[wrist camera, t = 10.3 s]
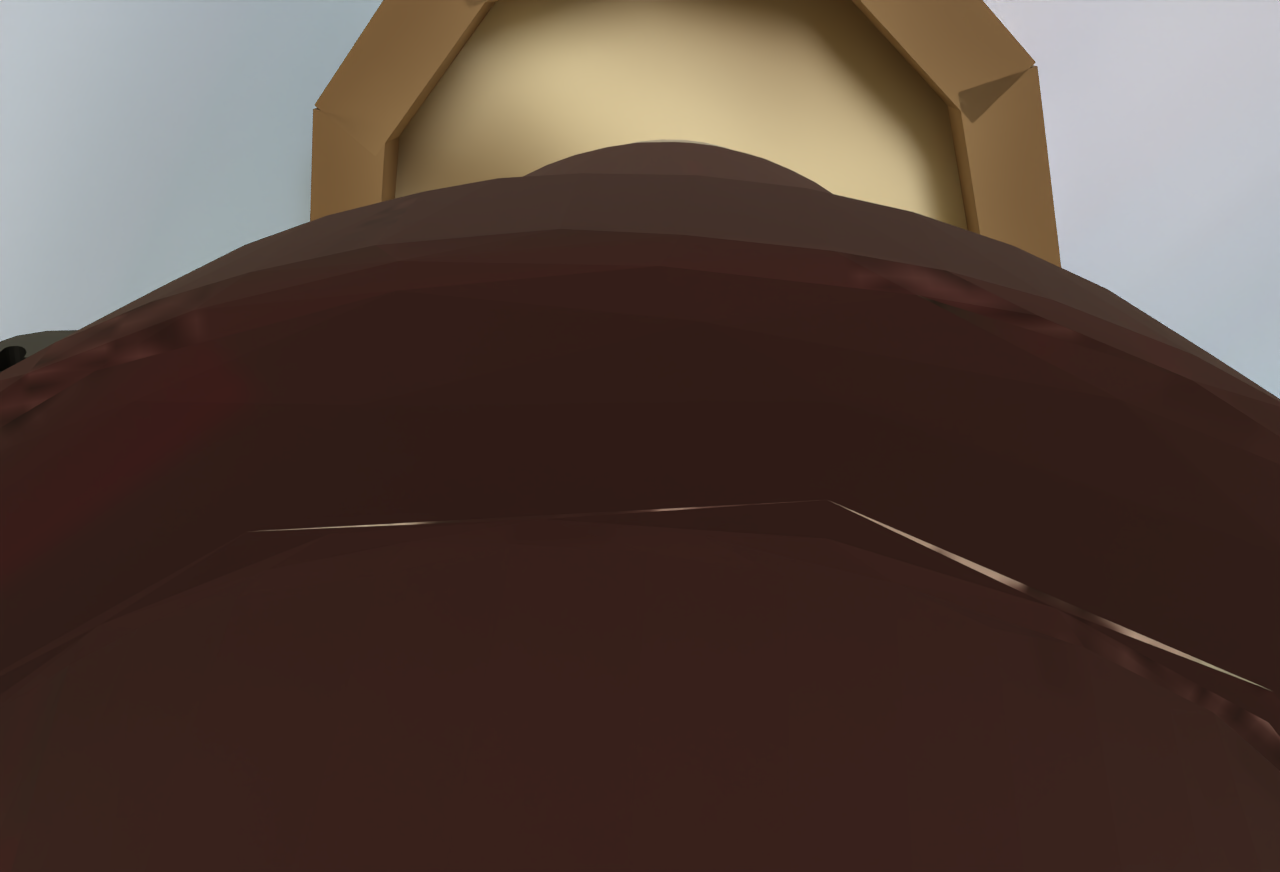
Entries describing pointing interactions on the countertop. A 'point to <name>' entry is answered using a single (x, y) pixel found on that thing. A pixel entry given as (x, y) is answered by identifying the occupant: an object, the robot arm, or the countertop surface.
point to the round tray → (698, 99)
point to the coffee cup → (637, 550)
